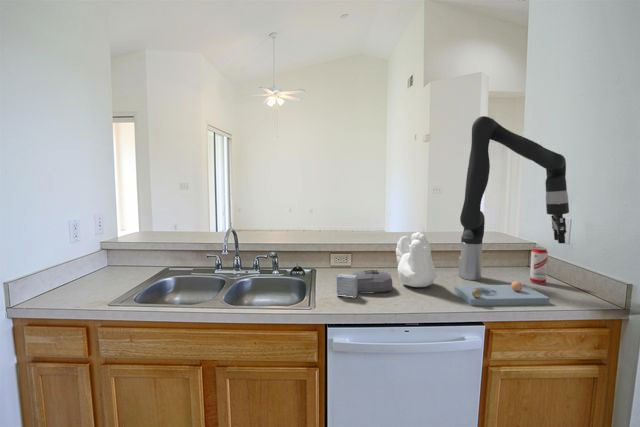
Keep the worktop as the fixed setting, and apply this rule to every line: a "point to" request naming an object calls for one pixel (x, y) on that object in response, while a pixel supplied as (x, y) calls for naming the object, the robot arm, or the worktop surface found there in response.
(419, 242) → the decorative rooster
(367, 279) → the grey rounded bag
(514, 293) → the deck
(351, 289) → the medicine box
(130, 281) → the worktop surface
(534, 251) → the beer can
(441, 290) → the worktop surface
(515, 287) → the ball
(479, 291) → the cork ball
